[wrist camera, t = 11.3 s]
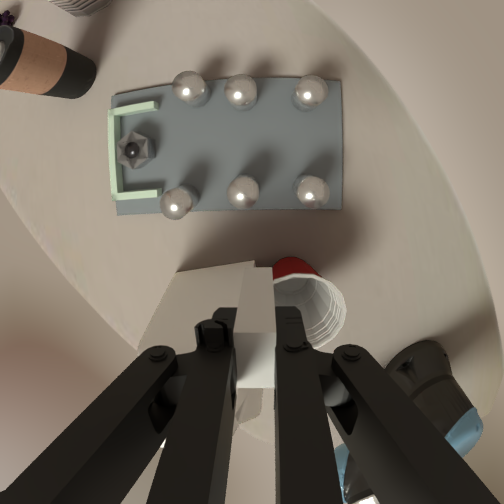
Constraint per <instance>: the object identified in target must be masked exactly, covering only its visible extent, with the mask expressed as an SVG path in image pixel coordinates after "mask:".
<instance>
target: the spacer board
mask: <svg viewBox="0 0 504 504" xmlns="http://www.w3.org/2000/svg"><path fill="white" fill-rule="evenodd" d="M252 79H253V80H254V81H255V83H256V86H257V103H256V105H255V106H254V107H253V108H252V109H251V110H249V111H246V112H240V111H237V110H235V109H234V108H233V107H232V106H231V104H230V102H229V101H228V99H227V97H226V95H225V93H224V86H225V83H226V81H227V80H228V79H220V80H208V81H204V82H205V83H206V84H207V86H208V87H209V88H210V90H211V98H210V100H209V101H208V103H207V104H205V105H204V106H202V107H198V108H196V107H191V106H189V105H188V104H187V103H185V102H184V101H182V100H181V99H179V98H178V97H176V96H175V95H174V93H173V91H172V85H166V86H160V87H154V88H148V89H143V90H138V91H133V92H128V93H123V94H119V95H114V96H112V99H111V109H114V108H118V107H123V106H128V105H133V104H139V103H144V102H150V101H155V102H157V103H159V110H156V111H149V112H143V113H137V114H132V115H126V116H121V117H120V137H121V139H122V138H123V137H124V136H126V135H127V134H128V133H129V132H131V131H136V132H141V133H143V134H145V135H147V136H150V137H152V138H154V139H155V146H156V158H155V159H153V160H152V161H151V162H149V163H148V164H147V165H145V166H144V167H143V168H141V169H135V170H132V169H131V168H129V167H127V166H125V165H123V164H122V177H123V190H124V191H132V190H143V189H155V188H162V195H163V194H164V193H165V192H167V191H168V190H171V189H173V188H176V187H178V186H181V185H184V184H189V185H192V186H194V187H195V188H196V189H197V190H198V192H199V202H198V204H197V206H196V207H195V208H194V209H192V210H191V211H190V212H193V211H222V210H277V209H313V208H308V207H306V206H305V205H304V204H303V203H302V202H301V201H300V200H299V199H298V198H297V197H296V196H295V194H294V192H293V182H294V180H295V179H296V178H297V177H298V176H299V175H302V174H310V175H313V176H315V177H318V178H321V179H322V180H324V181H325V182H326V183H327V185H328V187H329V191H330V195H329V199H328V201H327V202H326V203H325V204H324V205H323V206H322V207H320V208H315V209H321V210H341V205H342V106H341V86H340V81H332V80H324V81H325V82H326V84H327V86H328V96H327V98H326V99H325V100H324V101H323V102H322V103H321V104H319V105H318V106H317V107H316V108H315V109H313V110H312V111H309V112H303V111H300V110H298V109H296V108H295V107H294V106H293V104H292V101H291V95H292V93H293V91H294V89H295V87H296V85H297V83H298V81H299V80H300V79H301V78H252ZM242 174H249V175H251V176H253V177H254V178H255V179H256V180H257V181H258V184H259V197H258V200H257V202H256V203H255V204H254V205H253V206H252V207H250V208H247V209H239V208H236V207H234V206H233V205H232V204H231V203H230V202H229V200H228V198H227V188H228V186H229V184H230V183H231V182H232V181H233V180H234V179H235V178H236V177H238V176H239V175H242ZM162 195H161V196H159V197H154V198H140V199H128V200H117V201H116V208H117V216H119V215H134V214H151V213H162V211H161V209H160V199H161V197H162Z"/></svg>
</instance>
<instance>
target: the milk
mask: <svg viewBox="0 0 504 504" xmlns="http://www.w3.org/2000/svg"><path fill="white" fill-rule="evenodd" d="M253 267H256V265H255V260H252V261H246V262H240V263H234V264H227V265H221V266H214V267H208V268H202V269H195V270H189V271H182V272H176V273H175V275H174V277H173V278H172V280H171V282H170V284H169V286H168V288H167V290H166V292H165V294H164V295H163V297H162V299H161V301H160V303H159V305H158V307H157V309H156V311H155V313H154V315H153V317H152V319H151V321H150V323H149V325H148V327H147V329H146V331H145V333H144V335H143V337H142V339H141V341H140V343H139V346H138V353H137V356H139V355H140V354H141V353H142V352H143V351H145V350H146V349H148V348H150V347H153V346H158V345H164V346H169V347H171V348H173V349H174V350H175V353H176V355H177V354H184V353H189V352H193V351H195V350H196V348H197V343H196V336H195V329H194V327H195V326H196V325H197V324H198V323H199V322H201V321H204V320H207V319H212V316H213V313H214V312H215V311H216V310H217V309H218V308H219V307H238V303H239V297H240V291H241V286H242V280H243V275H244V269H245V268H253ZM236 394H237V399H236V408H235V417H234V425H233V434H232V436H233V435H234V433H235V431H236V430H237V428H238V426H239V425H238V424H241V423H243V422H246V421H248V420H251V419H253V418H256V417H257V416H258V415H259V414H260V412H261V407H262V394H263V388H237V384H236ZM166 438H167V437H166ZM165 441H166V439H165V440H164V442H163V443H162V445H161V446H160V447H164V444H165Z"/></svg>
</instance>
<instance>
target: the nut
mask: <svg viewBox="0 0 504 504" xmlns="http://www.w3.org/2000/svg"><path fill="white" fill-rule="evenodd" d="M155 158H156V146H155V139H154V138H152V137H150V136H147V135H145V134H143V133H141V132H136V131H131V132H129V133H128V134H127V135H126V136H124V137H123V138H122V139H121V140H120V141H118V142H117V160H118V162H119V163H121V164H123V165H125V166H127V167H129V168H131V169H132V170H135V169H141V168H143V167H144V166H145V165H147V164H148V163H149V162H151V161H152V160H153V159H155Z"/></svg>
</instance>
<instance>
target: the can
mask: <svg viewBox="0 0 504 504" xmlns="http://www.w3.org/2000/svg"><path fill="white" fill-rule="evenodd" d="M48 1H49V2H51V3H53V4H55V5H57V6H58V7H60V8H62V9H63V10H65V11H67V12H69V13H70V14H72V15H74V16H75V17H79V16H91V15H92V14H94V13H96V12H97V11H99V10H101V9H103V8H105V7H106V6H108V5H109V3H110V2H111V1H112V0H48Z"/></svg>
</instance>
